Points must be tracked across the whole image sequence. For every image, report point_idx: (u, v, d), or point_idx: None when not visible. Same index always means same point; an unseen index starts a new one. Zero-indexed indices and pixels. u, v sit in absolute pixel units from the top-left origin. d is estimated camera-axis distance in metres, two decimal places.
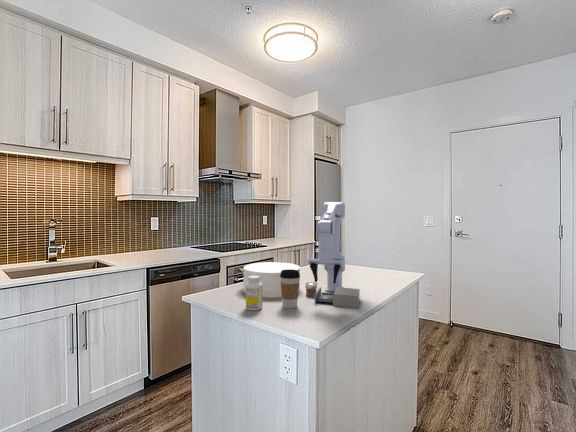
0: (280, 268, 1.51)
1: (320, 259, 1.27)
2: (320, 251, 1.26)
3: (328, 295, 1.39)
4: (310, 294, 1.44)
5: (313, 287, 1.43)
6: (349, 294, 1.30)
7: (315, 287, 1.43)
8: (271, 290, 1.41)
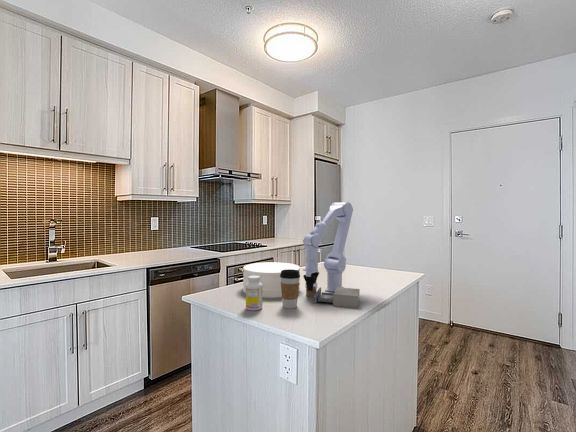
0: (280, 268, 1.51)
1: None
2: None
3: (328, 295, 1.39)
4: (310, 294, 1.44)
5: (313, 287, 1.43)
6: (349, 294, 1.30)
7: (315, 287, 1.43)
8: (271, 290, 1.41)
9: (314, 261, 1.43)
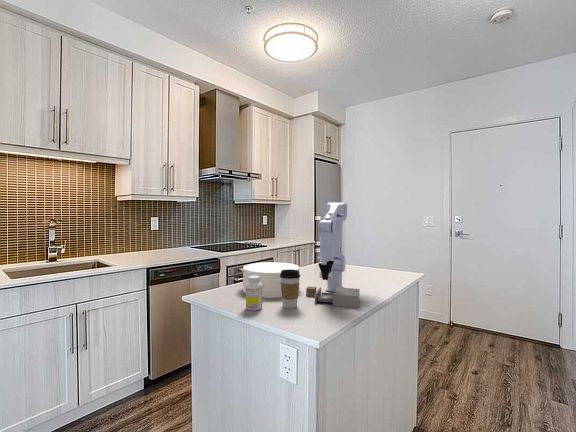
0: (280, 268, 1.51)
1: None
2: None
3: (328, 295, 1.39)
4: (310, 294, 1.44)
5: (328, 276, 1.34)
6: (349, 294, 1.30)
7: (330, 276, 1.35)
8: (271, 290, 1.41)
9: (329, 248, 1.34)
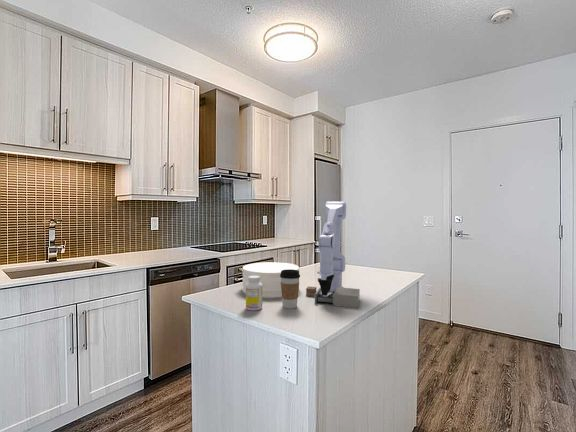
0: (279, 268, 1.51)
1: None
2: None
3: None
4: (310, 294, 1.44)
5: (327, 296, 1.34)
6: (349, 294, 1.30)
7: (329, 296, 1.35)
8: (270, 290, 1.41)
9: (329, 263, 1.34)
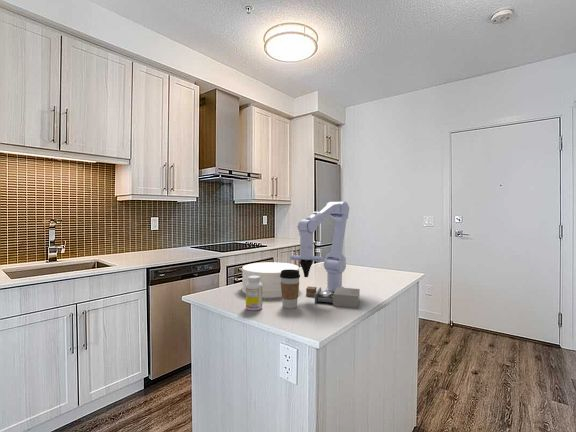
0: (279, 268, 1.51)
1: (301, 255, 1.37)
2: (301, 248, 1.37)
3: None
4: (310, 294, 1.44)
5: (327, 296, 1.34)
6: (349, 294, 1.30)
7: (330, 296, 1.35)
8: (270, 290, 1.41)
9: None
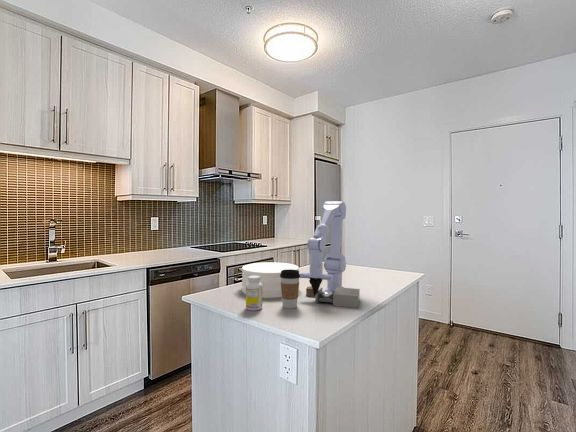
0: (279, 268, 1.51)
1: (311, 274, 1.36)
2: (311, 267, 1.36)
3: None
4: (310, 294, 1.44)
5: (329, 297, 1.34)
6: (349, 294, 1.30)
7: (331, 297, 1.35)
8: (270, 290, 1.41)
9: None
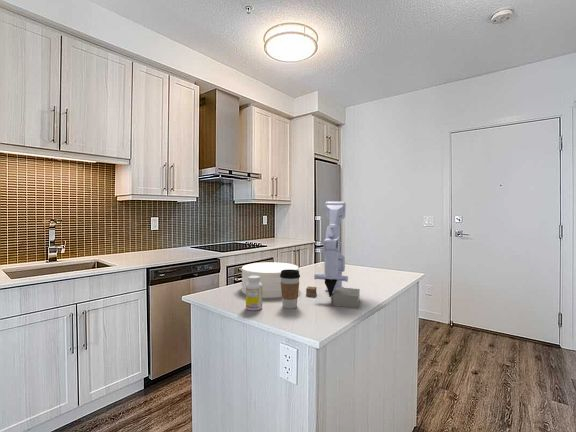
0: (278, 268, 1.51)
1: (326, 275, 1.35)
2: (326, 268, 1.34)
3: None
4: (310, 294, 1.44)
5: None
6: (349, 294, 1.30)
7: None
8: (269, 290, 1.41)
9: None
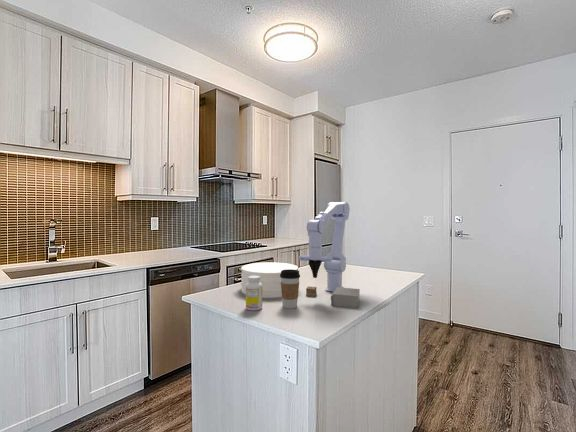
0: (278, 268, 1.51)
1: (310, 256, 1.36)
2: (310, 249, 1.36)
3: None
4: (310, 294, 1.44)
5: None
6: (349, 294, 1.30)
7: None
8: (269, 290, 1.41)
9: None
